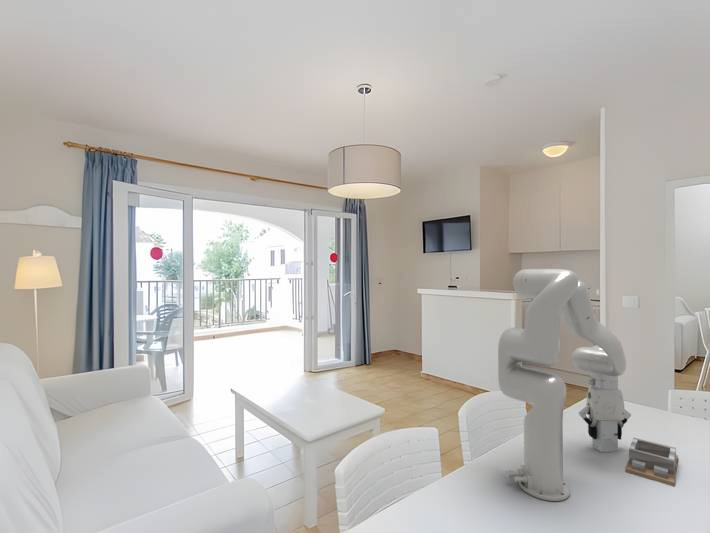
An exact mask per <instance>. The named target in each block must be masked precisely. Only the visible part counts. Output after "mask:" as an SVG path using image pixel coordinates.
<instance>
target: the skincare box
mask: <svg viewBox="0 0 710 533" xmlns="http://www.w3.org/2000/svg"><path fill="white" fill-rule="evenodd" d="M595 427H596V428H597V439H593V438H592V437H591V438H592V439H591V440H592V441H591V442H592V443H591V444H592V447H593V448H594V449H595V450H597V451H598V452H600V453H612V452H615V453H616V452H618V451H619V449H618V448H619V446H618V445H619V441H618V440H619V439H618V424H617V421H599V420H598V421H597V422H596V424H595Z"/></svg>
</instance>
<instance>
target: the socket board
mask: <svg viewBox="0 0 710 533" xmlns="http://www.w3.org/2000/svg"><path fill="white" fill-rule="evenodd" d="M678 464H679V455H677V447H674V446H669V445H667V444H666V445H665V444H662V443H658V442H653V441H649V440H645V439H640V438H637V437H633V438H632V441H631V443H630V445H629V448H628V461H627V463H626V466H625V467H624V468H625V470H624V471H625V473H628V474H631V475H634V476H639V477H640V478H645V479H648V480H652V481H655V482H659V483H661V484H665V485H669V486H672V487H676V486H675V485H676V480H677V479H676V478H677V471H678Z"/></svg>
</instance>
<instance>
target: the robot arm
mask: <svg viewBox="0 0 710 533" xmlns="http://www.w3.org/2000/svg"><path fill="white" fill-rule="evenodd" d="M512 286H513V290H514V291H515V293H516V294H517V296H519V297H521V298H522V299H525V300H527V301H530V302H529V305H528V306H527V308H526V310H525V314H524V315H525V316H524V317H525V318H524V328H522V327H509V328H506V329H505V330H504V331H503V332H502V333H501V335H500V338H499V340H498V348H497V356H498V357H497V362H498V363H497V365H498V369H497V370H498V371H497V372H498V374H497V376H498V380H497V381H498V385H499V386H498V387H499V390H500V391H501V393H502V394H503V395H504V396H506V397H508V398H510V399H513V400H517V401H520V402H523V403H526V404H529V405H531V408H530V409H529V411H528V412H527V413H526V414H525V416H524V418H523V464H520V468H518V469H517V470H514V469H506V470H505V475H506V478H508V479H513V480H514V482H515V483H518V486H519V488H521V489H522V490H523V492H525V493H527V494H528V495H530V496H532V497H534V498H537V499H540V500H544V501H549V502H560V501H565V500H566V499H568V498H569V497H570V494H571V489H570V486H569V485H568V484H567V482H566V481H564V447H563V446H564V444H563V443H564V440H563V438H564V435H563V430H564V429H563V427H564V426H563V424H564V409H565V403H566V399H567V385H566V382H565V381H564V380H563V379H562V378H561V377H560V375H557V374H555V373H552V372H549V371H546V370H541V369H538V368H537V369H536V368H532V367H529V366H528V367H527V366H523V365H522V364H523V363H524V364H527V365H533V366H537V367H543V368H552V367H555V366H556V365H557V364H558V362H559V359H560V355H561V354H560V353H561V352H560V350H561V348H560V347H561V345H560V344H561V343H560V341H561V340H560V337H561V334H560V333H561V330H560V323H561V315H562V318H563V321H564V324H565V327H566V329H567V330H568V331H569V332H570V333H572V334H573V335H576V336H577V337H580V338H582V339H583V340H586V341H588V342H590V343H592V344H593V346H581V347H577V348H576V349H574V350H573V352H572V354H571V362H572V365H573V366H574V367H575V368H576V369H578V370H581V371H585V372H589V373H590V379H587V381H586V383H587V385H589V386H588V388H587V389H588V390H587V394H586V406H584V408H582V409H581V410H580V411H579V412H578V415H579V416H580V417H581V419H582V420H583V421H584V422H585V423H586V424H587V431H588V432H587V433H588V435H589V437H590V438H593V439H597V428H596V427H595V424H596V422H597V421H598V420H599V421H617V424H618V440H622V434H623V432H622V431H623V429H622V428H624V425H625V424H626V423H627V422H628V420H629V419H630V418H631V416H632V414H631V413H630V412H629V411H628V410H626V409H625V401H624V396H623V393H622V389H621V388H619V377H621V376H622V375H624V374H625V372H626V371H627V370H626V369H627V360H626V355H625V353H624V349H623V346H622V343H621V341H620V340H619V338H618V337H617V336H616V334H614V333H613V332H612V331H611V330H609V329H608V328H607V327H606V326H605V325H604V324H602V323H600V322H599V321H598V319H597V316H596V313H595V309H594V306H593V303H592V300H591V297H590V293H589V290H588V287H587V285H586V284H585V283H584V282H583V281H582V280H579V276H578V274H577V273H576V272H575V271H572V270H569V269H564V268H563V269H562V268H527V269H525V268H524V269H521V270H518V271H517V272H516V273H515V275H514V276H513V280H512ZM587 415H588V416H587Z"/></svg>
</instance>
